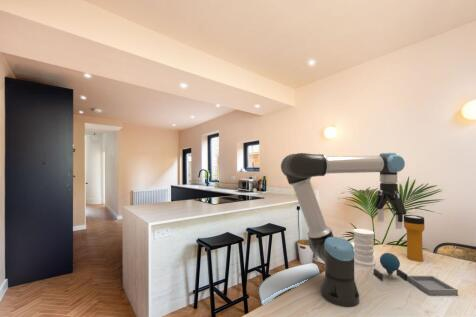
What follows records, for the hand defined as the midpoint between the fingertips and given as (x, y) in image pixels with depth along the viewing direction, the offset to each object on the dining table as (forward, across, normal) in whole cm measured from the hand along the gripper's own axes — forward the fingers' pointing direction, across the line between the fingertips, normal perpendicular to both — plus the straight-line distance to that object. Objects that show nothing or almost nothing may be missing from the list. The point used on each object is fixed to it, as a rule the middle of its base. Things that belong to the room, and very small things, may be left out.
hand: (389, 224), depth 114 cm
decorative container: (+27, +18, +3) cm, 32 cm away
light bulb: (+27, 0, 0) cm, 27 cm away
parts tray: (+26, -10, -12) cm, 31 cm away
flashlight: (+27, +23, -31) cm, 47 cm away
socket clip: (+26, 0, 0) cm, 26 cm away
